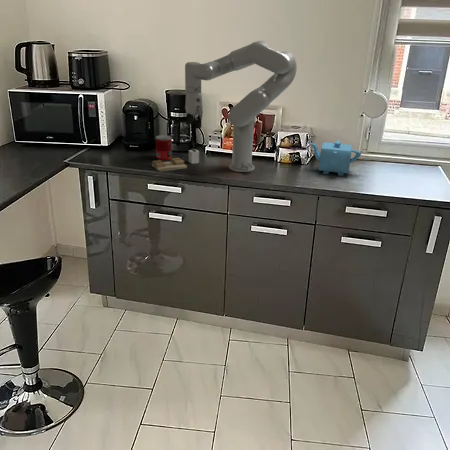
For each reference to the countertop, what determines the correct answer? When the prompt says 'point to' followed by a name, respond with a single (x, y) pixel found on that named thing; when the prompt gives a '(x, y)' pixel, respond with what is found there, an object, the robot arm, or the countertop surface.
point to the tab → (193, 156)
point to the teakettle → (335, 157)
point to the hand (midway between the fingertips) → (193, 126)
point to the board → (169, 165)
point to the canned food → (163, 147)
